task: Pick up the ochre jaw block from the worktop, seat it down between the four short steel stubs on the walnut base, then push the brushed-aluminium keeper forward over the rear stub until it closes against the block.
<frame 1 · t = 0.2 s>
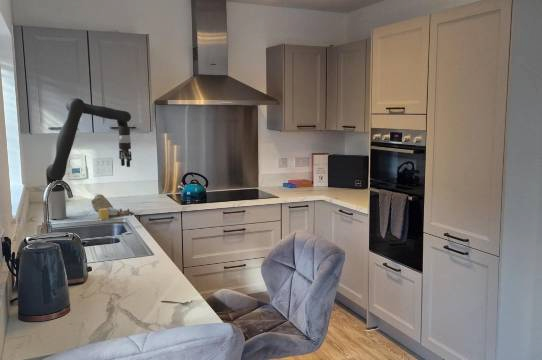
hand: (125, 166, 331), 29 cm above the worktop, fingers open, 8 cm apart
jaw block: (103, 218, 306), on the worktop
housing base: (117, 214, 317), on the worktop
keeper: (110, 211, 314), point 3 cm above the worktop, slide at 0.0 cm
fossil tooth: (102, 211, 329), on the worktop
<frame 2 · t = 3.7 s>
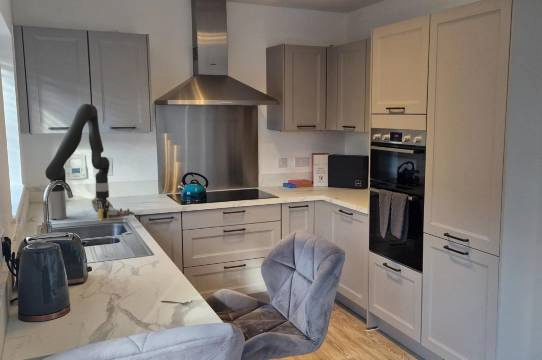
hand: (103, 217, 306), 1 cm above the worktop, fingers closed on jaw block, 4 cm apart
jaw block: (103, 218, 306), on the worktop, touching gripper
everything else where it was.
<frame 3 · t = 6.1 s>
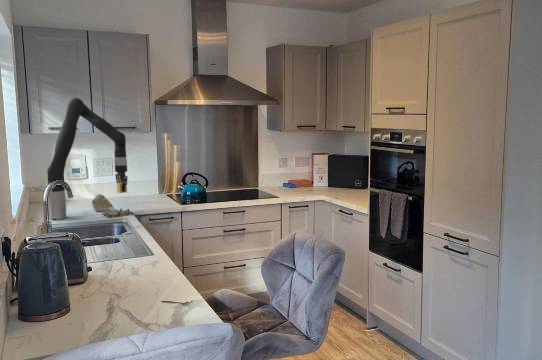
hand: (122, 190, 317), 15 cm above the worktop, fingers closed on jaw block, 4 cm apart
jaw block: (122, 192, 317), point 14 cm above the worktop, touching gripper
when the fingers open (4 cm above the worktop, at t = 8.4 s): jaw block drops 2 cm, resting on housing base.
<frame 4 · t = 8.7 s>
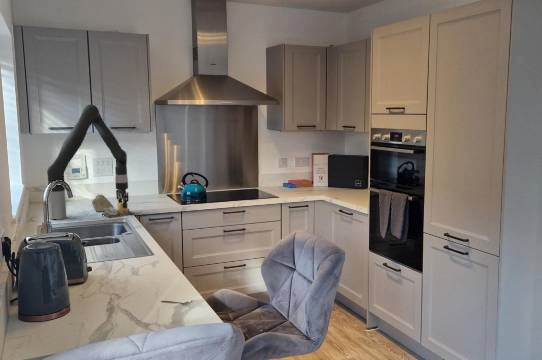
hand: (122, 207, 318), 5 cm above the worktop, fingers open, 6 cm apart
jaw block: (123, 212, 319), point 1 cm above the worktop, touching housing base
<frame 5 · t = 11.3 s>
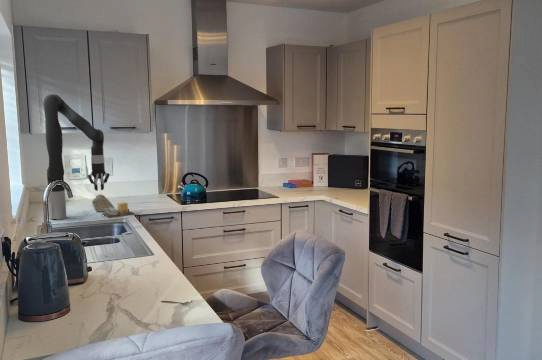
hand: (99, 190, 307), 17 cm above the worktop, fingers open, 3 cm apart
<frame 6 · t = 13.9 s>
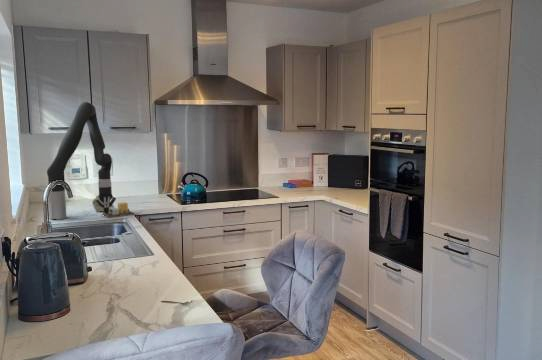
hand: (106, 213, 312), 2 cm above the worktop, fingers closed
keeper: (112, 210, 314), point 3 cm above the worktop, slide at 1.2 cm, touching gripper
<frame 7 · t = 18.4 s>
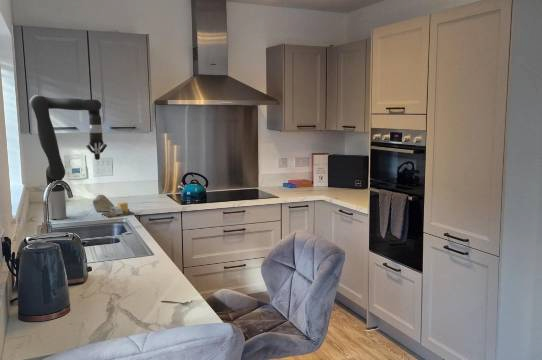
hand: (97, 159, 314), 35 cm above the worktop, fingers closed
jaw block: (123, 212, 319), point 1 cm above the worktop, touching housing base, keeper
keeper: (116, 210, 316), point 3 cm above the worktop, slide at 3.3 cm, touching jaw block
at the end: jaw block 0.0 cm from the target spot, point 1.2 cm above the worktop; jaw block tilted 0°; keeper slide at 3.3 cm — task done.
